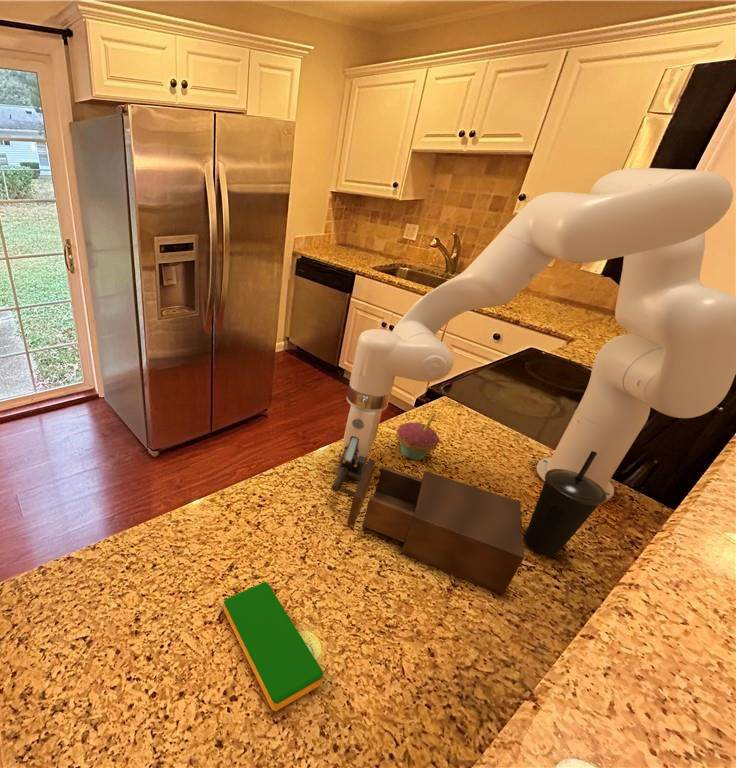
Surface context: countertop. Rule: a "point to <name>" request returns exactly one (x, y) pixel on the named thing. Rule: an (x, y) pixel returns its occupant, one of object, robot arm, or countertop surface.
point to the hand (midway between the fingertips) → (351, 468)
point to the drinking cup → (562, 508)
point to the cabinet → (466, 532)
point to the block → (361, 463)
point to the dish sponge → (272, 646)
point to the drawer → (383, 500)
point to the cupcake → (417, 439)
